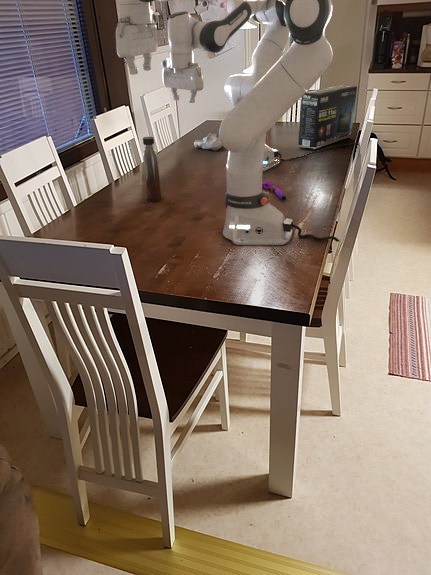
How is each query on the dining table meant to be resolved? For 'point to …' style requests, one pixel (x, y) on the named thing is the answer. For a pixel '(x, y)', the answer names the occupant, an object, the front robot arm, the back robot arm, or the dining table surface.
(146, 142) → the cap
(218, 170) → the dining table surface
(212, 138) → the fossil
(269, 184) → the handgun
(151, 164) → the bottle
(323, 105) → the router box
